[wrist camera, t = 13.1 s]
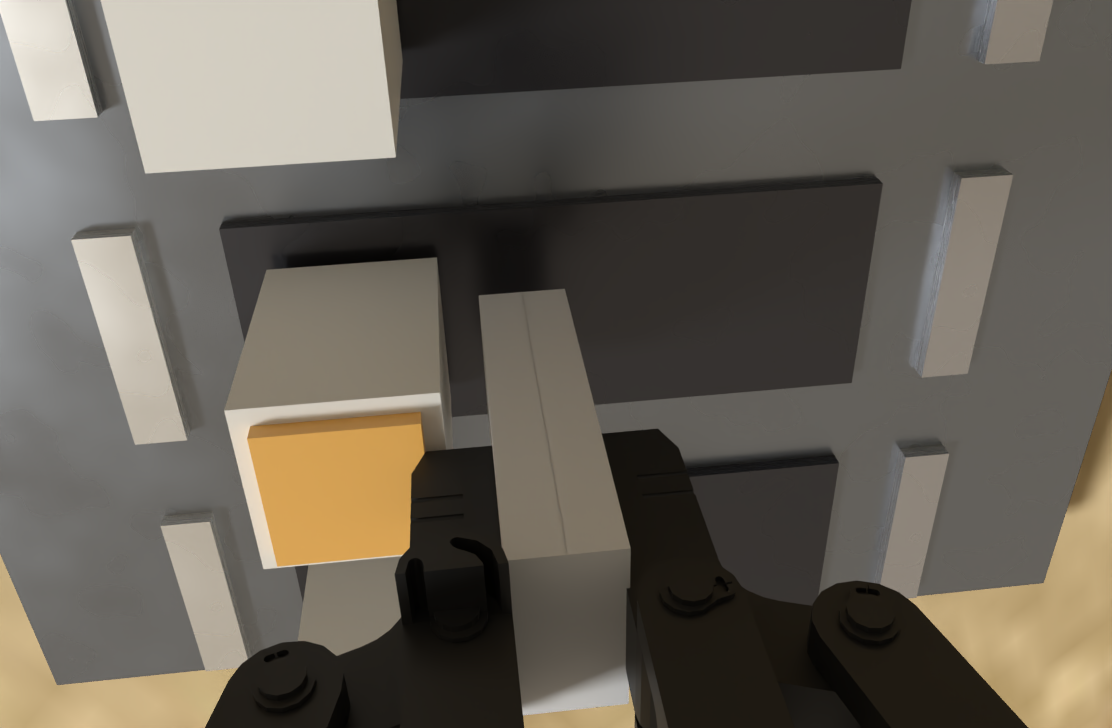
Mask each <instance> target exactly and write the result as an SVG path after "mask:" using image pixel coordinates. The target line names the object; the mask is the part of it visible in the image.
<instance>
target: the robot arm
mask: <svg viewBox="0 0 1112 728" xmlns="http://www.w3.org/2000/svg"><path fill="white" fill-rule="evenodd" d="M479 307H480V320H481V332H482V345H483V357H484V370H485V383H486V395H487V408H488V420H489V432H490V442H491V446H482V447H470V448H459V449H448V450H437V451H426V452H425V453H424V455H423V457H422V458H421V460H420V461H419V463H418V465H417V466H416V468H415V469H414V471H413V472H412V474H411V515H410V519H411V524H410V548H409V549H408V550H407V551H406V552H405V553H404V554H403V555H402V556H401V558H400V559H399V561H398V565H397V568H396V571H395V581H396V587H397V593H398V600H399V606H400V613H401V618H400V619H399V620H398V621H397V623H396V624H395V625H394V626H393V627H392V628H391V629H390V630H389V631H388V632H386V633H385V634H383V635H382V636H381V637H379V638H378V639H377V640H374V641H372V642H370V643H368V644H366V645H364V646H362V647H359V648H357V649H354V650H351V651H349V652H346V653H343V654H341V655H338V656H336V655H335V654H333V653H332V652H331V651H330V650H328V649H327V648H326V647H325V646H323V645H319V644H315V643H311V642H307V641H294V642H282V643H279V644H276V645H274V646H271V647H268V648H265V649H263V650H260V651H259V652H257V653H256V654H255V655H253V656H252V657H250V658H249V659H247V660H246V661H245V662H243V663H242V664H241V665H240V667H239V668H238V669H237V670H236V672H235V673H234V674H233V676H232V677H231V678H230V680H229V681H228V683H227V685H226V687H225V689H224V691H223V693H222V695H221V697H220V699H219V701H218V703H217V705H216V707H215V709H214V711H213V713H212V715H211V717H210V719H209V721H208V723H207V725H206V727H205V728H524V722H523V715H531V714H540V713H549V712H558V711H567V710H576V709H585V708H594V707H603V706H612V705H621V704H628V703H629V687H630V691H631V696H632V701H633V705H634V710H635V728H1028V727H1027V726H1026V725H1025V724H1024V723H1023V722H1022V720H1021V719H1020V718H1019V717H1018V716H1017V715H1016V714H1015V713H1014V712H1013V711H1012V710H1011V708H1010V707H1009V706H1008V705H1007V704H1006V703H1005V702H1004V701H1003V700H1002V699H1001V698H1000V696H999V695H998V694H997V693H996V692H995V691H994V690H993V689H992V688H991V687H990V686H989V685H988V683H987V682H986V681H985V680H984V679H983V678H982V677H981V676H980V675H979V674H978V673H977V671H976V670H975V669H974V668H973V667H972V666H971V665H970V664H969V663H968V662H967V661H966V659H965V658H964V657H963V656H962V655H961V654H960V653H959V652H958V651H957V650H956V649H955V648H954V646H953V645H952V644H951V643H950V642H949V641H948V640H947V639H946V638H945V637H944V636H943V634H942V633H941V632H940V631H939V630H938V629H937V628H936V627H935V626H934V625H933V624H932V622H931V621H930V620H929V619H928V618H927V617H926V616H925V615H924V614H923V613H922V612H921V611H920V609H919V608H918V607H917V606H916V605H915V604H913V603H912V602H911V601H910V600H908V599H907V598H906V597H905V596H903V595H902V594H901V593H900V592H897V591H895V590H893V589H890V588H888V587H885V586H883V585H881V584H878V583H871V582H864V581H849V582H842V583H836V584H834V585H832V586H831V587H829V588H827V589H825V590H823V591H821V593H820V594H819V596H818V597H817V598H816V600H815V601H814V603H813V604H812V606H810V605H804V604H797V603H790V602H784V601H778V600H774V599H770V598H765V597H762V596H759V595H757V594H755V593H753V592H750V591H748V590H746V589H745V588H743V587H742V586H741V585H740V583H739V582H738V580H737V579H736V577H735V576H734V575H733V574H732V573H730V572H729V571H727V570H726V569H724V568H723V567H722V565H721V563H720V561H719V559H718V556H717V553H716V551H715V548H714V545H713V542H712V540H711V537H710V534H709V531H708V528H707V526H706V523H705V520H704V517H703V514H702V512H701V509H700V506H699V503H698V500H697V498H696V495H695V494H694V489H693V486H692V484H691V481H690V478H689V475H687V470H686V467H685V464H684V461H683V459H682V456H681V453H680V450H679V448H678V447H677V446H676V445H675V444H674V443H673V442H672V441H671V440H670V439H669V438H668V437H667V436H665V435H664V434H663V433H662V432H661V431H660V430H659V429H647V430H635V431H624V432H613V433H601V430H600V426H599V422H598V418H597V414H596V410H595V406H594V402H593V398H592V394H591V390H590V386H589V382H588V378H587V374H586V370H585V367H584V363H583V359H582V355H581V351H580V347H579V343H578V339H577V335H576V331H575V327H574V323H573V319H572V315H571V311H570V307H569V303H568V300H567V296H566V292H565V289H555V290H542V291H529V292H516V293H504V294H491V295H479Z"/></svg>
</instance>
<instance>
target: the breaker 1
mask: <svg viewBox="0 0 1112 728" xmlns="http://www.w3.org/2000/svg"><path fill="white" fill-rule="evenodd" d="M101 4H102V8H103V12H104V16H105V20H106V23H107V27H108V31H109V35H110V39H111V43H112V47H113V50H114V54H115V58H116V62H117V66H118V70H119V74H120V77H121V81H122V85H123V89H124V93H125V97H126V101H127V105H128V108H129V112H130V116H131V120H132V124H133V128H134V132H135V135H136V139H137V143H138V147H139V151H140V155H141V159H142V162H143V166H144V170H145V174H146V173H162V172H177V171H193V170H208V169H224V168H239V167H255V166H271V165H286V164H302V163H317V162H333V161H348V160H364V159H379V158H395V157H396V149H397V135H398V121H399V106H400V92H401V78H402V64H403V59H402V50H401V40H400V31H399V22H398V12H397V3H396V0H101Z"/></svg>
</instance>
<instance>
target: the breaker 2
mask: <svg viewBox="0 0 1112 728" xmlns="http://www.w3.org/2000/svg"><path fill="white" fill-rule="evenodd" d="M400 558H401V556H397V557H387V558H376V559H366V560H355V561H345V562H334V563H324V564H314V565H308V572H307V579H306V586H305V593H304V600H303V607H302V614H301V621H300V629H299V636H298V641H307V642H311V643H315V644H319V645H323V646H325V647H326V648H327V649H328V650H330V651H331V652H332V653H333V654H335V655H336V656H338V655H341V654H343V653H346V652H349V651H351V650H354V649H357V648H359V647H362V646H364V645H366V644H368V643H370V642H372V641H374V640H377V639H378V638H379V637H381V636H382V635H383V634H385V633H386V632H388V631H389V630H390V629H391V628H392V627H393V626H394V625H395V624H396V623H397V621H398V620H399V619H400V618H401V613H400V606H399V600H398V593H397V587H396V581H395V571H396V568H397V565H398V561H399V559H400Z"/></svg>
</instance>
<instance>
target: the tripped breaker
mask: <svg viewBox="0 0 1112 728" xmlns="http://www.w3.org/2000/svg"><path fill="white" fill-rule="evenodd" d="M224 412H225V416H226V420H227V424H228V428H229V432H230V436H231V440H232V444H233V448H234V452H235V456H236V460H237V464H238V468H239V473H240V477H241V481H242V485H243V489H244V493H245V497H246V501H247V505H248V509H249V513H250V517H251V521H252V525H253V529H254V533H255V537H256V541H257V545H258V549H259V553H260V557H261V561H262V565H263V569H272V568H282V567H293V566H303V565H314V564H324V563H334V562H345V561H355V560H366V559H376V558H387V557H397V556H402V555H403V554H404V553H405V552H406V551H407V550H408V549H409V548H410V524H411V519H410V515H411V474H412V472H413V471H414V469H415V468H416V466H417V465H418V463H419V461H420V460H421V458H422V457H423V455H424V453H425V452H426V451H437V450H448V449H453V439H452V414H451V393H450V383H449V373H448V363H447V353H446V343H445V333H444V323H443V313H442V303H441V293H440V283H439V273H438V263H437V257H436V258H422V259H408V260H394V261H381V262H367V263H353V264H339V265H326V266H312V267H298V268H284V269H270V270H266V273H265V277H264V280H263V283H262V287H261V290H260V293H259V297H258V300H257V303H256V307H255V310H254V313H253V316H252V320H251V323H250V326H249V330H248V333H247V336H246V340H245V343H244V346H243V350H242V353H241V356H240V360H239V363H238V366H237V370H236V373H235V376H234V380H233V383H232V386H231V390H230V393H229V396H228V400H227V403H226V406H225V410H224Z"/></svg>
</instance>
